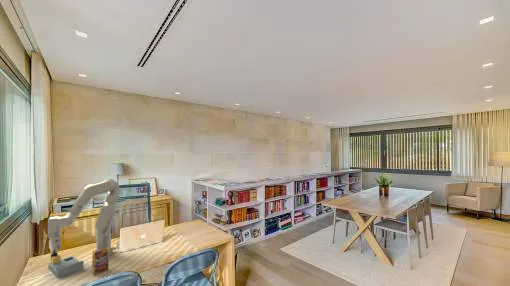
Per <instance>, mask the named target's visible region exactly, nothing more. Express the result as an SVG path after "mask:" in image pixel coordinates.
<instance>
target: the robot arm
mask: <svg viewBox="0 0 510 286" xmlns="http://www.w3.org/2000/svg"><path fill="white" fill-rule="evenodd" d="M120 188H121V187H120V185H119V183H118V181H116V180H115V179H113V178H108V179H105V180H104V181H103V182H98V183H96V184H95V183H90V184H87V185H86V186H85V187H84V189H83V191H82V192H80V194H79V195H78V197H77V198H76V200H75V201H74V204H73V205H72V206H71V207H70V209H69V210H68V211H67V213H66V214H65V215H64V216H60V215H54V216H51V217H48V219H47V238H48V239H49V240H48V247H49V249H50V260H52V257H54V256H57V255H58V251H59V250H62V240H61V236H62V228H64V227H66V228H67V227H70V226H72V225H73V224H74V222H75V221H76V219H77V218H78V217H79V216H80V214H81V213H82V211H83V210H85V209H86V207H87V206H89V204H90V202H91V201H92V200H93V199H94V198H95V196H100V195H102V194H106V193H107V194H106V196H105V200H104V202H103V204H102V206H101V208H100V211H99V213H98V216H97V219H96V221H95V224H94V225H95V226H94V227H95V229H96V242H95V243H96V248H95V250H98V249H102V248H105V247H108V248H109V257H112V255H113V254H114V251H116V250H118V246H112V221H113V218H114V215H115V212H116V208H117V207H116V206H117V204H118V200H119V197H120V193H121V189H120Z"/></svg>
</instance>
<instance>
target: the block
mask: <svg viewBox="0 0 510 286" xmlns="http://www.w3.org/2000/svg"><path fill="white" fill-rule="evenodd" d="M61 259H62V258H61V256H60V255H59V254H57V256H54V257H52V260H51V259H50V260H51V261H50V263H52V264H56V263H60V260H61Z"/></svg>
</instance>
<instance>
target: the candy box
mask: <svg viewBox="0 0 510 286" xmlns="http://www.w3.org/2000/svg"><path fill="white" fill-rule="evenodd" d="M109 259H110V256H109V248H108V247H105V248H102V249H98V250H96V249H95V250H92V260H91V261H92V262H91V263H92V264H91V274H92V275H93V276H95V275H97V274H100V273H103V272H107V271H109V262H110V261H109Z"/></svg>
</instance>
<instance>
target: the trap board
mask: <svg viewBox="0 0 510 286" xmlns="http://www.w3.org/2000/svg"><path fill="white" fill-rule="evenodd" d="M47 265H48V266H47V267H48V268H47V269H49V271H51V272H52V274H53V275H54V276H55V277H56V279H59V278H61V277H64V276H67V275H70V274H72V273H76V272H78V271H80V270H84V260H79V259H78V258H76V257H75V256H74V255H70V256H67V257H64V258H60V263H56V264H52V263H51V262H49V263H47Z"/></svg>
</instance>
